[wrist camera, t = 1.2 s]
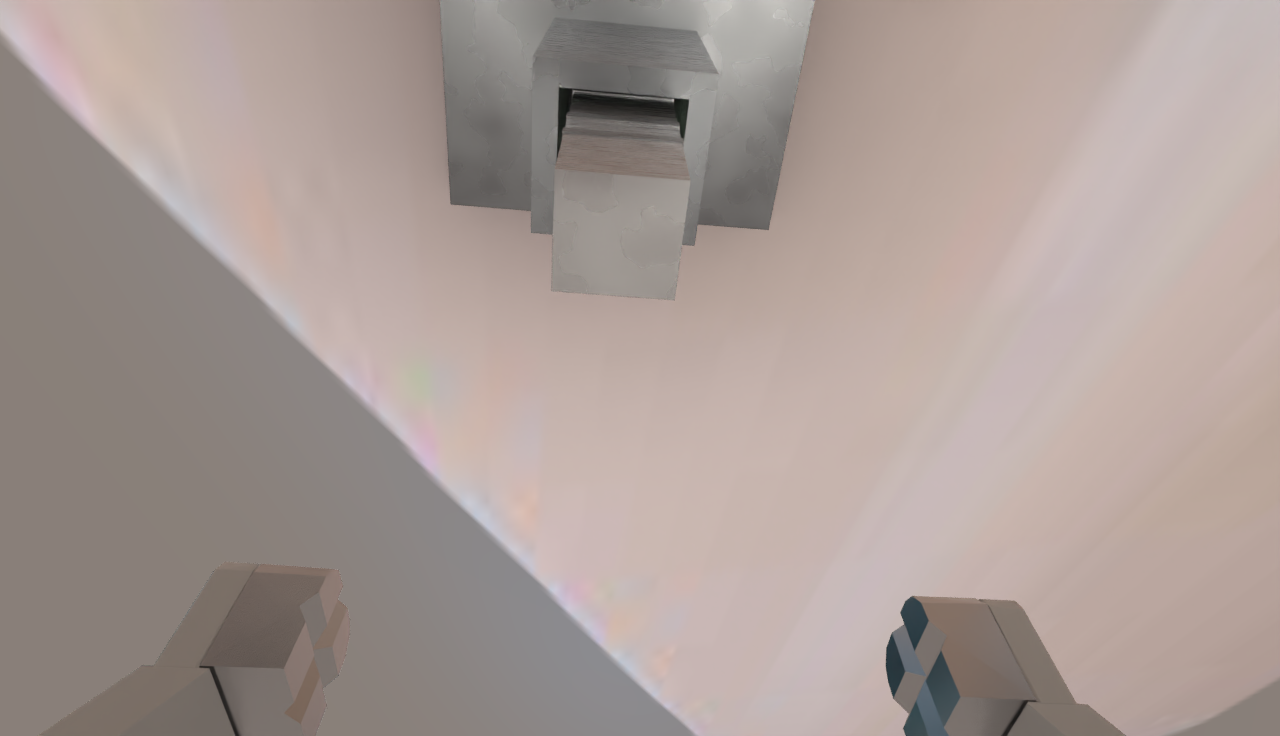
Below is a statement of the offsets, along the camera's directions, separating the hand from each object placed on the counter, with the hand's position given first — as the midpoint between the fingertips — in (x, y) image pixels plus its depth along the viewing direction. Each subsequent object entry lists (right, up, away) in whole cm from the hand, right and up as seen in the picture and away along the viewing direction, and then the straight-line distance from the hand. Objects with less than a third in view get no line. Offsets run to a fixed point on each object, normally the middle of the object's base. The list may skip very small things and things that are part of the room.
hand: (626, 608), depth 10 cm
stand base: (-1, +19, +28) cm, 34 cm away
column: (-1, +17, +27) cm, 32 cm away
